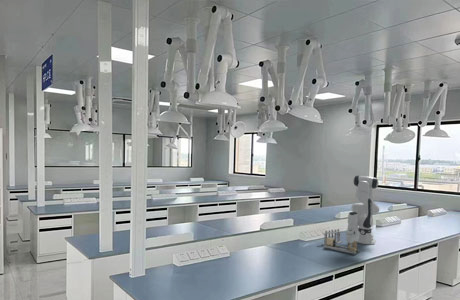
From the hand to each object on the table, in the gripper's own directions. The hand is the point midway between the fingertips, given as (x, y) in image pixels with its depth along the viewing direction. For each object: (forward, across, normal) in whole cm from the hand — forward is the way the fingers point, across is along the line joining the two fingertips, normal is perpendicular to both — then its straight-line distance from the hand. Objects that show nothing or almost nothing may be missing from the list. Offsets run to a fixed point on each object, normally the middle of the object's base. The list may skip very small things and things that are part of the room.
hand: (352, 246), depth 277 cm
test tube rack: (+6, -18, -26) cm, 32 cm away
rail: (+6, 0, -10) cm, 12 cm away
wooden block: (+4, 0, 0) cm, 4 cm away
